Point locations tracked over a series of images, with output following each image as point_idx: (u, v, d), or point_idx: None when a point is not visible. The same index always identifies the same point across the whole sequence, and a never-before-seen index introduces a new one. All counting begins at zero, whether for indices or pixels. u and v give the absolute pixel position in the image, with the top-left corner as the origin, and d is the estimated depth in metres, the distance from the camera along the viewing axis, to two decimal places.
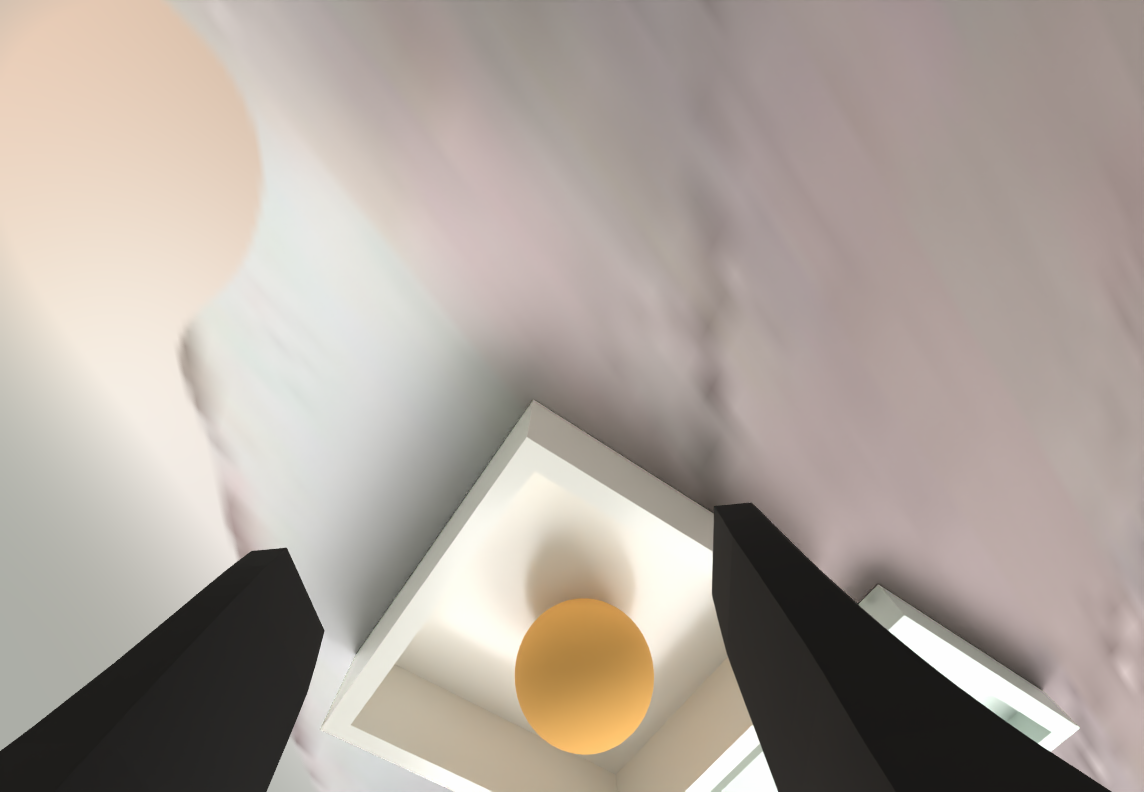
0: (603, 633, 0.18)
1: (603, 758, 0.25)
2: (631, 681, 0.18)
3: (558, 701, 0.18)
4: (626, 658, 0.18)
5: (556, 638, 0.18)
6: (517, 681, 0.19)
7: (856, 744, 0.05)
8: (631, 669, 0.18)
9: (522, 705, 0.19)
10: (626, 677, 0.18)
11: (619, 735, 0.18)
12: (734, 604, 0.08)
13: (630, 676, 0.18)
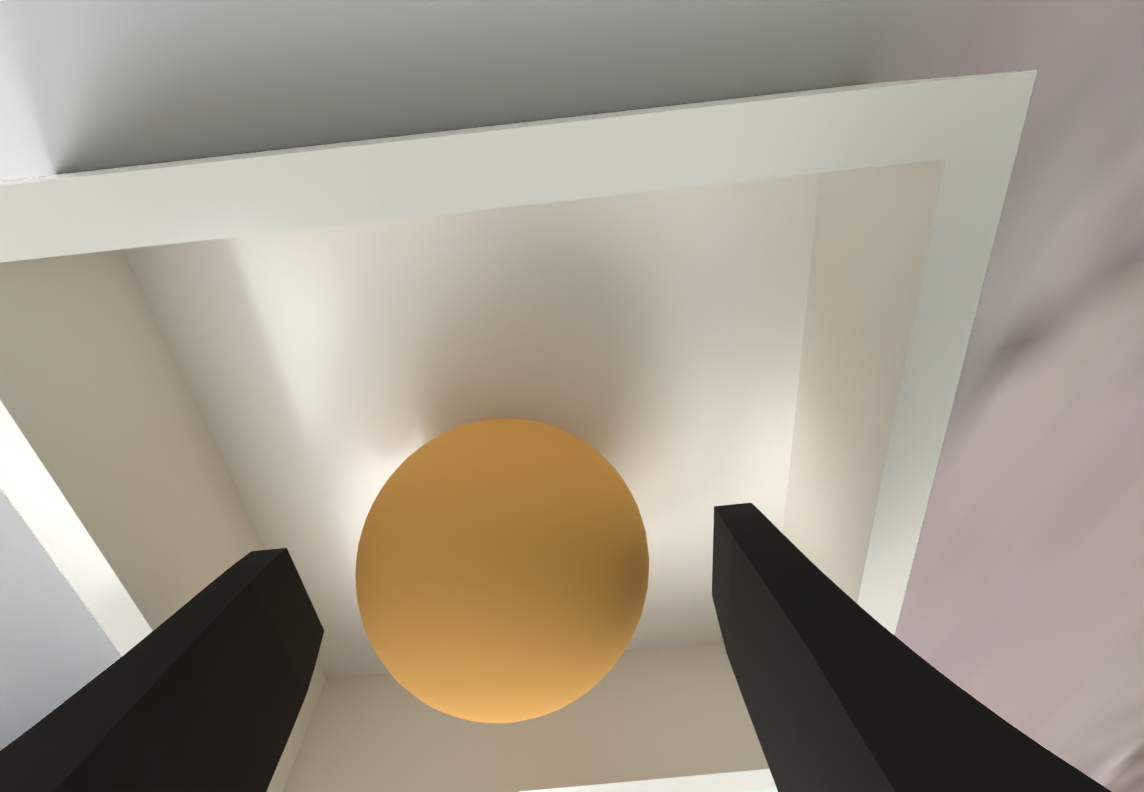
0: (637, 539, 0.09)
1: (333, 652, 0.14)
2: (621, 649, 0.09)
3: (502, 602, 0.07)
4: (639, 606, 0.09)
5: (565, 485, 0.08)
6: (413, 495, 0.08)
7: (856, 744, 0.05)
8: (632, 629, 0.09)
9: (390, 545, 0.08)
10: (623, 639, 0.08)
11: (525, 719, 0.08)
12: (734, 604, 0.08)
13: (625, 640, 0.09)
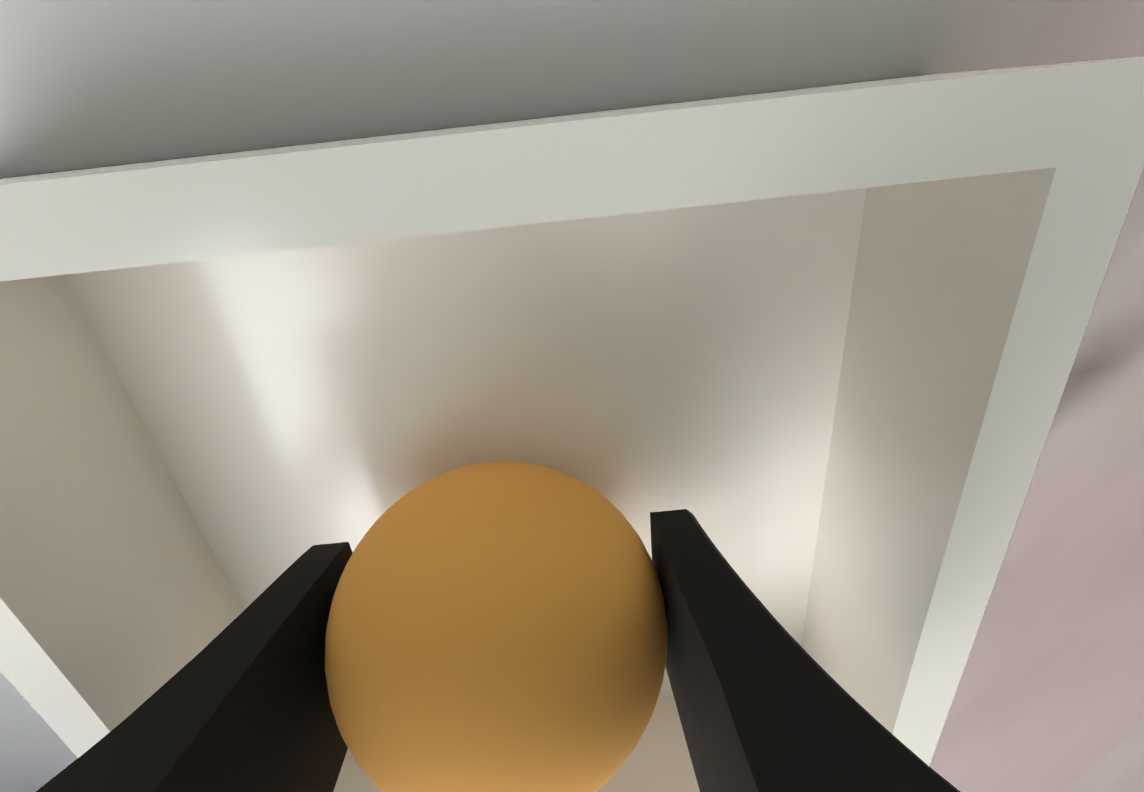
0: (654, 611, 0.07)
1: None
2: (636, 742, 0.07)
3: (495, 705, 0.06)
4: (657, 690, 0.07)
5: (571, 553, 0.07)
6: (390, 565, 0.07)
7: (740, 754, 0.05)
8: (649, 716, 0.07)
9: (362, 626, 0.07)
10: (639, 731, 0.07)
11: None
12: None
13: (641, 731, 0.07)
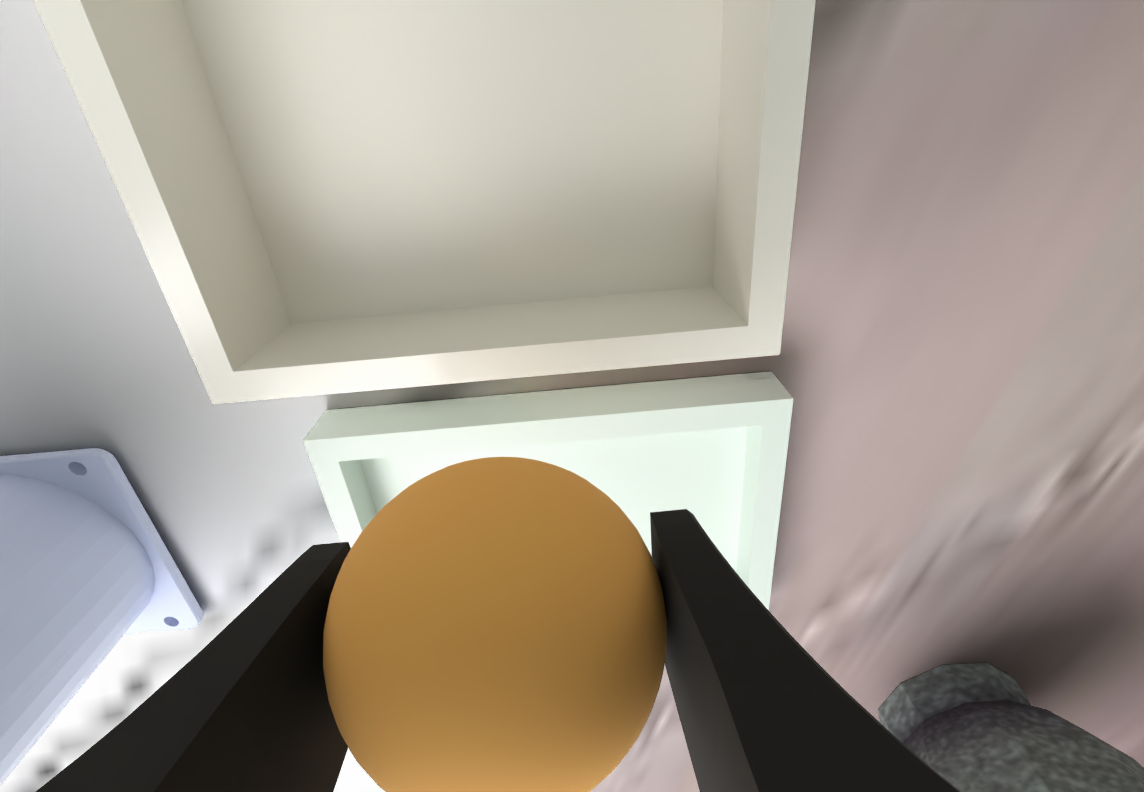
0: (653, 603, 0.07)
1: (296, 286, 0.15)
2: (636, 735, 0.07)
3: (492, 698, 0.06)
4: (657, 683, 0.07)
5: (567, 546, 0.07)
6: (385, 561, 0.07)
7: (740, 755, 0.05)
8: (649, 710, 0.07)
9: (358, 623, 0.07)
10: (639, 725, 0.07)
11: None
12: None
13: (641, 724, 0.07)
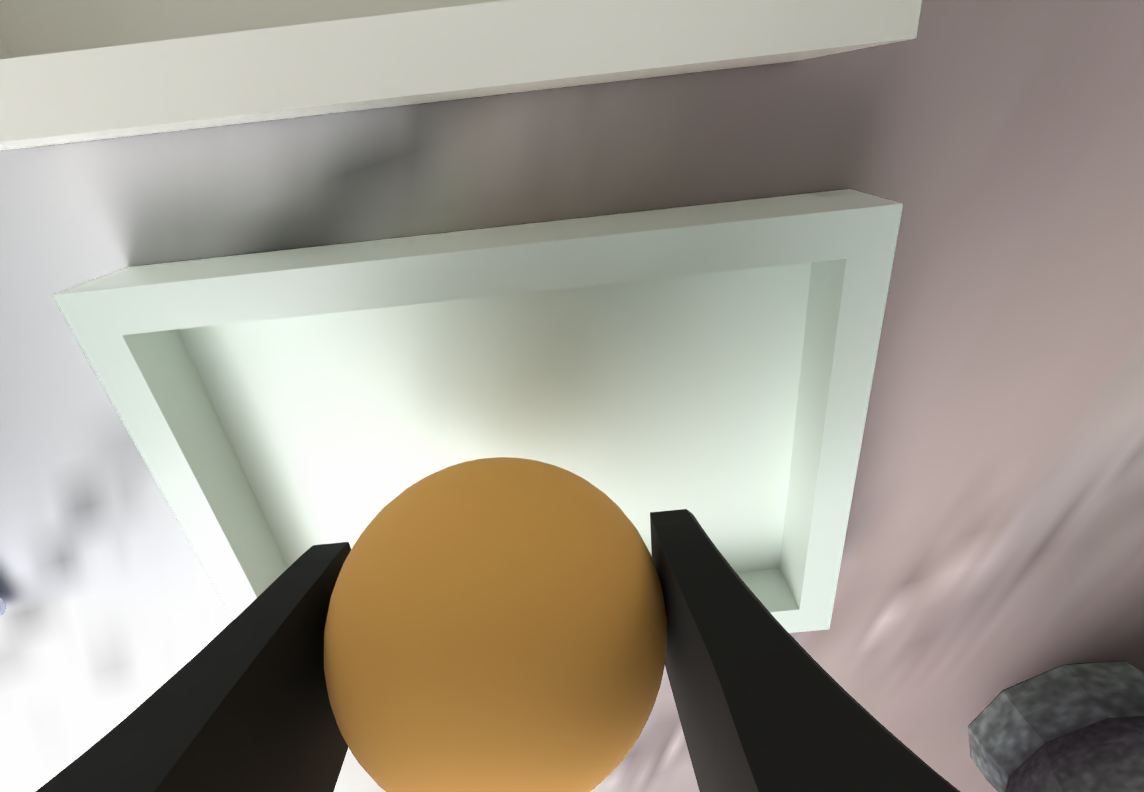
0: (652, 603, 0.07)
1: (20, 11, 0.09)
2: (636, 735, 0.07)
3: (492, 699, 0.06)
4: (657, 682, 0.07)
5: (566, 546, 0.07)
6: (385, 562, 0.07)
7: (740, 754, 0.05)
8: (650, 709, 0.07)
9: (358, 624, 0.07)
10: (639, 724, 0.07)
11: None
12: None
13: (642, 724, 0.07)
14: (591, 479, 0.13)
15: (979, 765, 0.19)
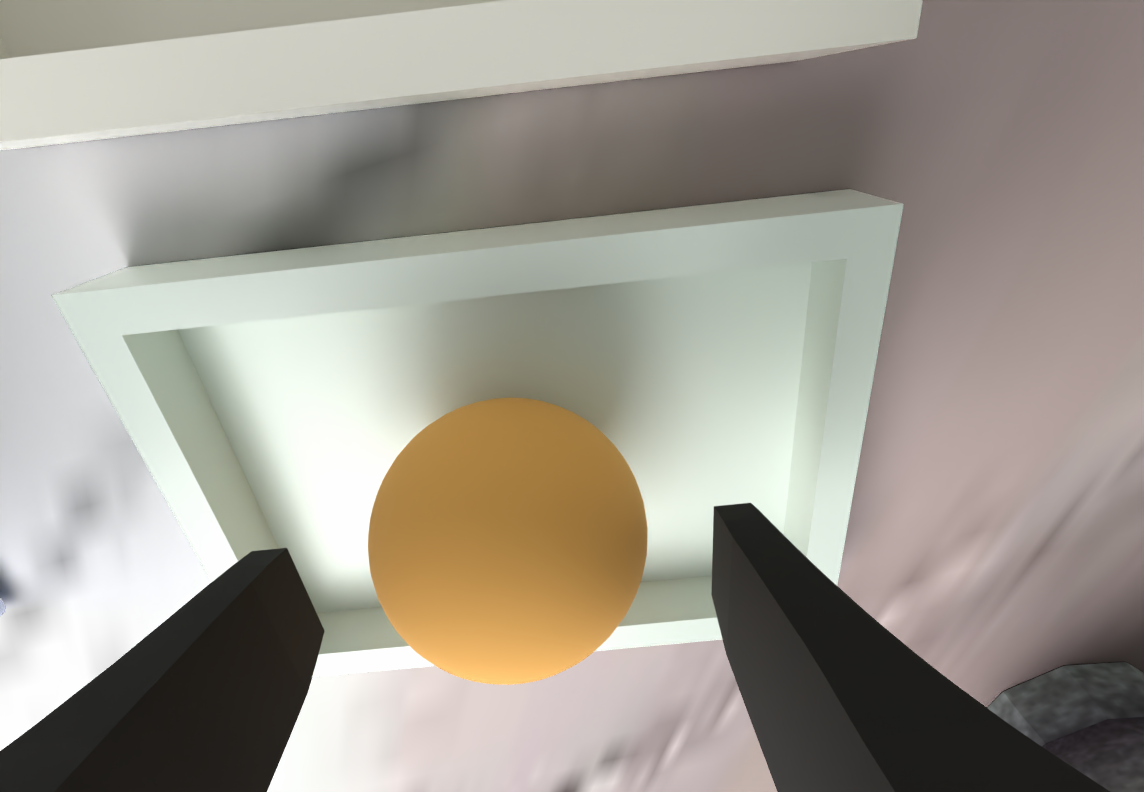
0: (634, 507, 0.09)
1: (19, 10, 0.09)
2: (622, 611, 0.09)
3: (508, 564, 0.08)
4: (639, 571, 0.09)
5: (565, 456, 0.09)
6: (421, 468, 0.09)
7: (856, 744, 0.05)
8: (633, 593, 0.09)
9: (401, 515, 0.08)
10: (624, 601, 0.09)
11: (532, 679, 0.09)
12: (734, 604, 0.08)
13: (626, 603, 0.09)
14: None
15: None
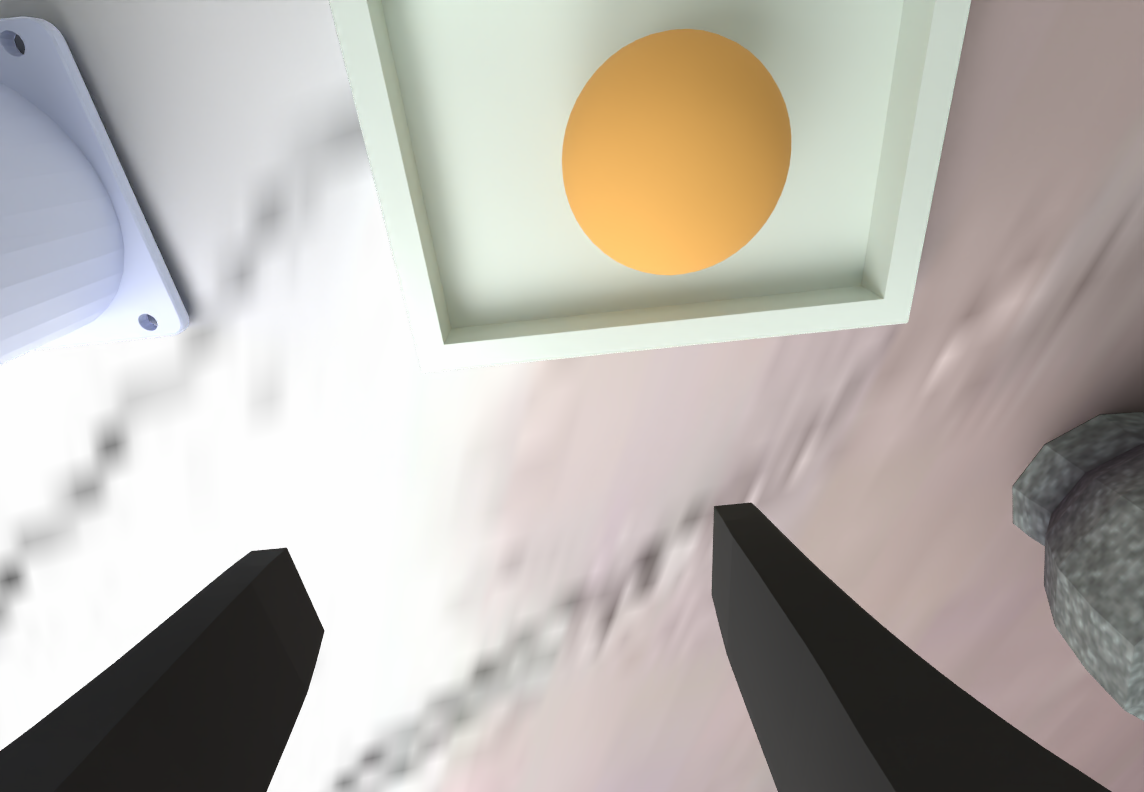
0: None
1: None
2: (779, 185, 0.11)
3: (714, 93, 0.10)
4: (789, 159, 0.11)
5: (739, 45, 0.11)
6: (627, 54, 0.11)
7: (856, 744, 0.05)
8: (785, 175, 0.11)
9: (617, 82, 0.10)
10: (783, 172, 0.11)
11: (714, 229, 0.11)
12: (734, 604, 0.08)
13: (782, 179, 0.11)
14: None
15: (1021, 524, 0.21)
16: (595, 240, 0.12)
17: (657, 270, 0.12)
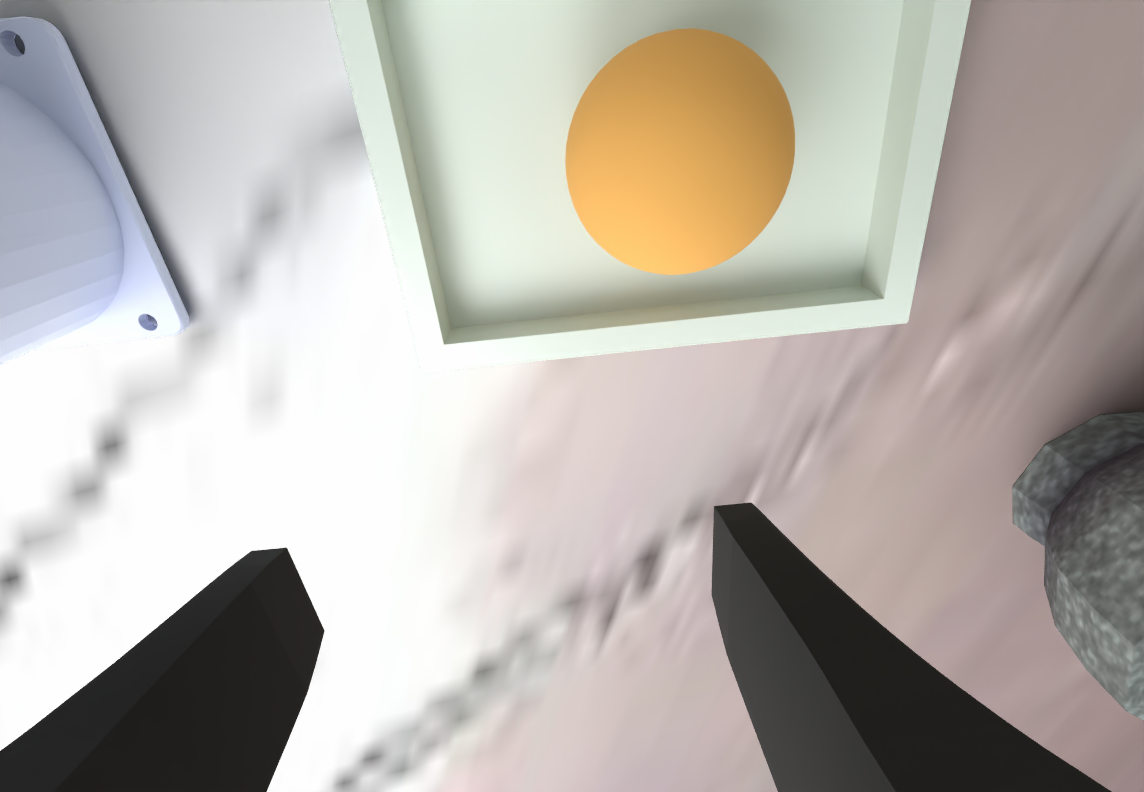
0: None
1: None
2: (785, 183, 0.11)
3: (722, 92, 0.10)
4: None
5: (744, 45, 0.11)
6: (632, 53, 0.11)
7: (856, 744, 0.05)
8: (790, 174, 0.12)
9: (624, 81, 0.10)
10: (788, 171, 0.11)
11: (722, 228, 0.11)
12: (734, 604, 0.08)
13: (787, 178, 0.11)
14: None
15: (1021, 524, 0.21)
16: (600, 240, 0.12)
17: (663, 270, 0.12)
